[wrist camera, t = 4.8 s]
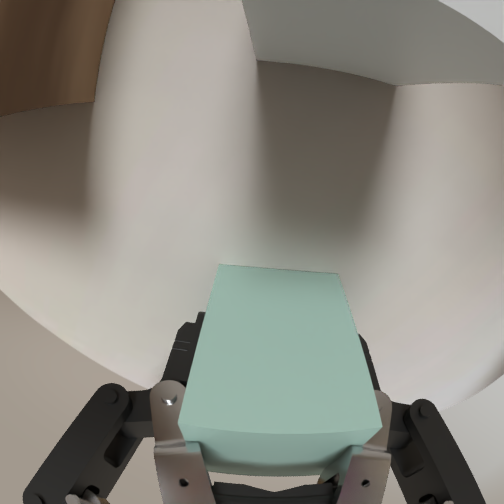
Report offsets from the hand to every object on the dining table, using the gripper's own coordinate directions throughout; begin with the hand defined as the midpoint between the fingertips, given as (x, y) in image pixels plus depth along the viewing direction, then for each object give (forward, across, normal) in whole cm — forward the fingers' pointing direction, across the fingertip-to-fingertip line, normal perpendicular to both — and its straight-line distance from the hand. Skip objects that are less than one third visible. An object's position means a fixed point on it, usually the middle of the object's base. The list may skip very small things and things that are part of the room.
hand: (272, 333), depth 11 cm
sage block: (+1, 0, 0) cm, 1 cm away
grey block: (+1, -1, -13) cm, 13 cm away
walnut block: (+2, +13, -16) cm, 21 cm away
